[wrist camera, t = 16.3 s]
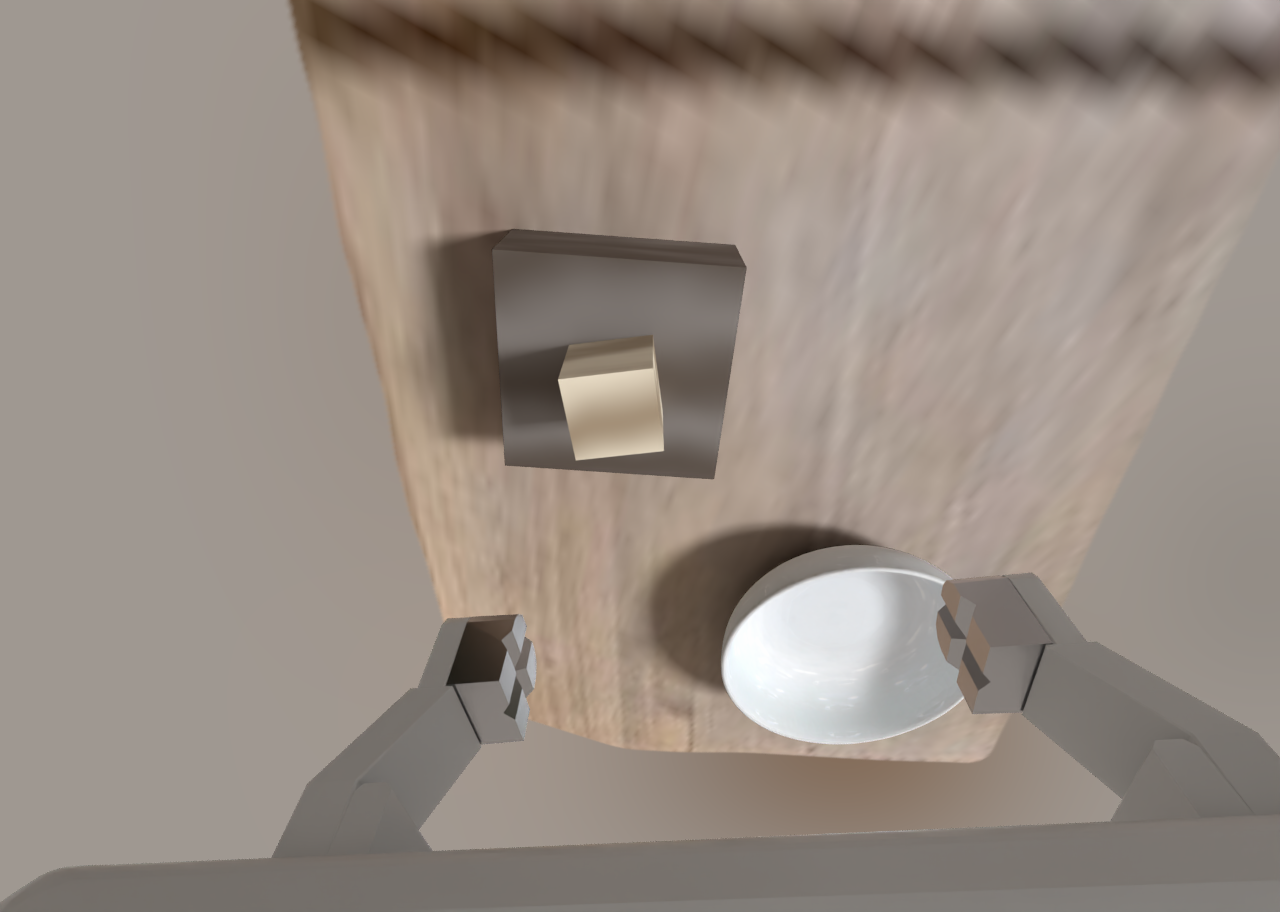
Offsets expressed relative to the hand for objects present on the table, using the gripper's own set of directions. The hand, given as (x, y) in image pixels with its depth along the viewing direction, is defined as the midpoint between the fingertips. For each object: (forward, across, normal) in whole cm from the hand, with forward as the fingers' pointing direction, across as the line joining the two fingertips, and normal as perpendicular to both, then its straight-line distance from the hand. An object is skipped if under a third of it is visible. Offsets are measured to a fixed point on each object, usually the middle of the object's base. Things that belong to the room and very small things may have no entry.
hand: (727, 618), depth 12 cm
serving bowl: (+30, -10, +33) cm, 46 cm away
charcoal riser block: (+31, +5, +7) cm, 32 cm away
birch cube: (+25, +4, +7) cm, 27 cm away
